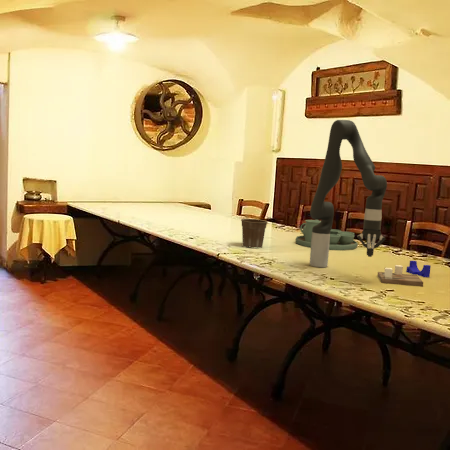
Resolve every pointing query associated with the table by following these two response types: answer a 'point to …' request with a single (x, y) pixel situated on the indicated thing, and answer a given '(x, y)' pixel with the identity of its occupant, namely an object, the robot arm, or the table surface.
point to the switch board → (401, 279)
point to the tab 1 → (388, 272)
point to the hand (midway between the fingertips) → (369, 256)
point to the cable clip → (414, 269)
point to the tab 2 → (398, 269)
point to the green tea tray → (337, 237)
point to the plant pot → (253, 232)
